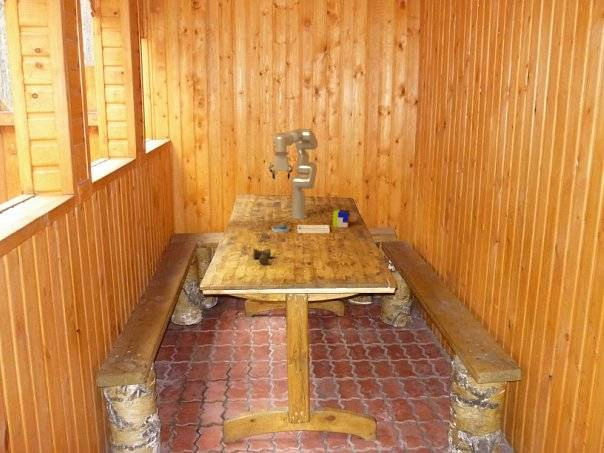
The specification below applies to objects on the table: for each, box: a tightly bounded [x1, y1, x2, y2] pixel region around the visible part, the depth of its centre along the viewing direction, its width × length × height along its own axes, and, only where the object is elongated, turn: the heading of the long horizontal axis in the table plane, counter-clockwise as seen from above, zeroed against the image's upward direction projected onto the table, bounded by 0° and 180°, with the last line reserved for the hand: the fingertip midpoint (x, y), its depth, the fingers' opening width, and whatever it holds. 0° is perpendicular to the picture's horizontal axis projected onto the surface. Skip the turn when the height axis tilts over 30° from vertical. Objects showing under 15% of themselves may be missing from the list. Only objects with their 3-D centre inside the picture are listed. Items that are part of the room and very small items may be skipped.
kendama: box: [252, 248, 271, 266], centre depth 328 cm, size 6×10×20 cm
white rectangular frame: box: [297, 224, 330, 234], centre depth 398 cm, size 13×21×2 cm, turn 90°
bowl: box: [271, 225, 291, 234], centre depth 398 cm, size 12×12×2 cm
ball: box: [278, 221, 288, 229], centre depth 397 cm, size 5×5×5 cm
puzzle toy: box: [332, 209, 350, 228], centre depth 414 cm, size 10×10×10 cm
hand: (281, 179), depth 403 cm, fingers open, 9 cm apart
